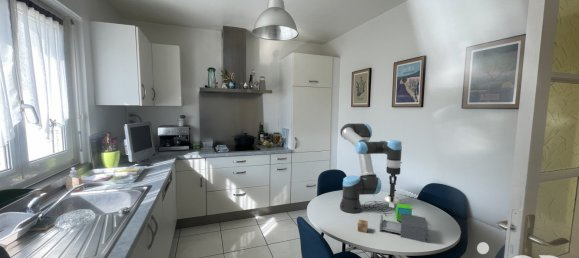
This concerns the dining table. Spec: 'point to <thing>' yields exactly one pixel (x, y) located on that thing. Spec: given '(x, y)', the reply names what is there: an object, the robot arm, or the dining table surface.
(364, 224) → the walnut block
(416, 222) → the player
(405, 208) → the green and teal box
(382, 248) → the dining table surface
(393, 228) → the grey drawer
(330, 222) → the dining table surface
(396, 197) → the disc
